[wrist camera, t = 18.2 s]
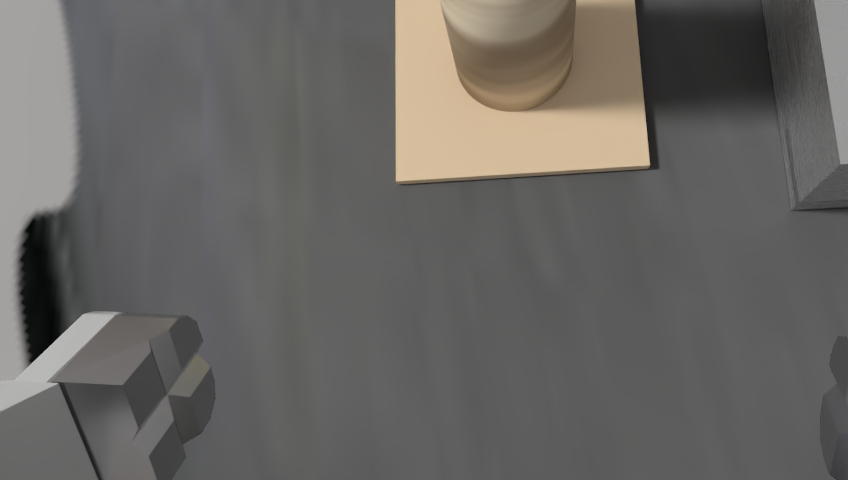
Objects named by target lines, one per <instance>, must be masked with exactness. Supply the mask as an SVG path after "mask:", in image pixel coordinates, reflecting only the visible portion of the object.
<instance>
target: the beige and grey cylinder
mask: <svg viewBox="0 0 848 480" xmlns="http://www.w3.org/2000/svg"><path fill="white" fill-rule="evenodd" d="M439 1H440V5H441V9H442V13H443V17H444V21H445V25H446V29H447V33H448V37H449V41H450V45H451V50H452V54H453V58H454V62H455V66H456V70H457V74H458V77H459V80H460V82H461V84H462V86H463V87H464V89H465V90H466V91H467V93H468V94H469V95H470V96H471V97H472V98H473V99H475V100H476V101H477V102H479V103H481V104H482V105H484V106H486V107H489V108H492V109H495V110H499V111H508V112H512V111H523V110H527V109H531V108H534V107H536V106H539V105H541V104H542V103H544V102H546V101H547V100H549V99H550V98H552V97H553V96H554V95H555V94H556V93H557V92H558V91H559V90H560V89H561V87H562V86H563V85H564V83H565V81H566V80H567V78H568V76H569V73H570V70H571V66H572V60H573V44H574V29H575V14H576V0H439Z"/></svg>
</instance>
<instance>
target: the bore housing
mask: <svg viewBox="0 0 848 480" xmlns="http://www.w3.org/2000/svg"><path fill="white" fill-rule="evenodd" d="M761 1H762V9H763V16H764V23H765V30H766V37H767V44H768V51H769V58H770V65H771V72H772V79H773V86H774V93H775V101H776V108H777V115H778V122H779V129H780V136H781V143H782V150H783V157H784V164H785V171H786V178H787V185H788V192H789V200H790V207H791V210H807V209H825V208H844V207H848V0H761Z"/></svg>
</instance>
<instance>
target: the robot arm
mask: <svg viewBox="0 0 848 480" xmlns="http://www.w3.org/2000/svg"><path fill="white" fill-rule="evenodd" d="M202 343H203V339H202V336H201V333H200V330H199V327H198V324H197V321H195V320H193V319H192V318H190V317H189V316H186V315H167V314H148V313H129V312H125V313H121V312H101V311H94V312H90V313H86V314H83V315H82V316H81V317H80V318H79V319H78V320H77V321H76V322H75V323H74V324H72V325H71V326H70V327H69V328H68V329H67V330H66V331H65V332H64V333H63V334H62V335H61V336H60V337H59V338H58V339H57V340H56V341H55V342H54V343H53V344H52V345H51V346H50V347H48V348H47V349H46V350H45V351H44V352H43V353H42V354H41V355H40V356H39V357H38V358H37V359H36V360H35V361H34V362H33V363H32V364H31V365H30V366H29V367H28V368H27V369H26V370H25V371H23V372H22V373H21V374H20V375H19V376H18V377H17V378H16V379H15V380H14V381H7V380H4V381H1V382H0V480H172V478H173V477H174V475H175V474H176V472H177V471H178V469H179V468H180V466H181V464H182V463H183V461H184V460H185V458H186V454H185V450H184V444H185V443H187V442H188V441H190V440H192V439H193V438H195V437H196V436H198V435H200V434H201V433H202V431H203V430H204V428H205V426H206V425H207V423H208V421H209V420H210V418H211V414H212V410H213V406H214V402H215V381H214V377H213V374H212V370H211V367H210V366H209V365H208V364H207V363H206V362H205V361H204V360H203V359H202V358H201V357H200V356H199V355H198V354H197V352H198V350H199V348H200V346H201V344H202ZM829 365H830V368H831V370H832V373H833V375H834V377H835V380H836V382H837V384H836V385H835V386H834V387H833V388H831V389H830V390H829V391H828V392H827V393H825V394H824V395H823V401H822V407H821V414H820V441H821V446H822V451H823V456H824V460H825V463H826V466H827V469H828V472H829V475H830V476H831V477H832V478H834V479H835V480H848V336H838V338H837V340H836V342H835V344H834V346H833V349H832V354H831V359H830V363H829Z"/></svg>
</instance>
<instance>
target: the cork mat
mask: <svg viewBox="0 0 848 480" xmlns="http://www.w3.org/2000/svg"><path fill="white" fill-rule="evenodd" d="M649 167H650V159H649V148H648V138H647V127H646V116H645V106H644V95H643V84H642V73H641V63H640V52H639V41H638V30H637V20H636V9H635V0H576V14H575V29H574V44H573V60H572V66H571V70H570V73H569V76H568V78H567V80H566V81H565V83H564V85H563V86H562V87H561V89H560V90H559V91H558V92H557V93H556V94H555V95H554V96H553V97H552V98H550V99H549V100H547V101H546V102H544V103H542V104H541V105H539V106H536V107H534V108H531V109H527V110H523V111H512V112H508V111H499V110H495V109H492V108H489V107H486V106H484V105H482V104H481V103H479V102H477V101H476V100H475V99H473V98H472V97H471V96H470V95H469V94H468V93H467V91H466V90H465V89H464V87H463V86H462V84H461V82H460V80H459V77H458V74H457V70H456V66H455V62H454V58H453V54H452V50H451V45H450V41H449V37H448V33H447V29H446V25H445V21H444V17H443V13H442V9H441V5H440V1H439V0H396V182H397V184H398V185H399V184H415V183H431V182H447V181H462V180H478V179H494V178H510V177H526V176H542V175H557V174H573V173H589V172H605V171H621V170H637V169H649Z"/></svg>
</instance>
